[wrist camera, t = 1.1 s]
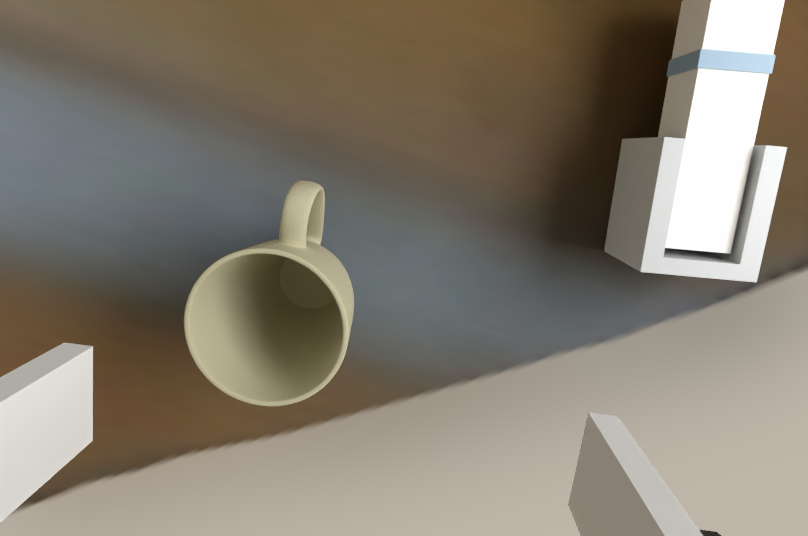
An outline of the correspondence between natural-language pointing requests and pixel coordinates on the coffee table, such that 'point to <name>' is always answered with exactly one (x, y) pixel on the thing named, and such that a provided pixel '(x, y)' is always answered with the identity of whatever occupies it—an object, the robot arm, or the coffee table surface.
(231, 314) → the mug
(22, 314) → the coffee table surface
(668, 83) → the blue-banded white bar
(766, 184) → the sleeve
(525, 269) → the coffee table surface
